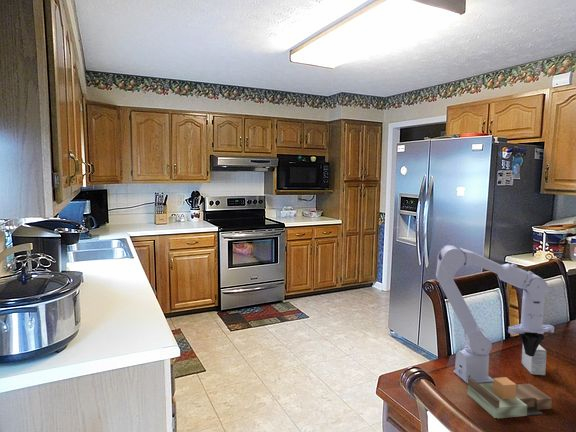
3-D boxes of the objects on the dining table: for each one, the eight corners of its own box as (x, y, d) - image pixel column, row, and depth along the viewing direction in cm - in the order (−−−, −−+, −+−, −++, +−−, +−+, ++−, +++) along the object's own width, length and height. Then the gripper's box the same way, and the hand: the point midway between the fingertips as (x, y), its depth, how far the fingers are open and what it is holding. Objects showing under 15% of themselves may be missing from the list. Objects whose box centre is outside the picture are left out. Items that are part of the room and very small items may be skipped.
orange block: (502, 399, 104) (503, 385, 104) (492, 391, 108) (493, 378, 108) (515, 397, 105) (516, 384, 105) (505, 390, 109) (505, 377, 109)
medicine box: (545, 376, 123) (547, 350, 123) (530, 374, 124) (532, 349, 124) (534, 364, 131) (536, 341, 130) (520, 363, 132) (522, 339, 131)
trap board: (495, 418, 100) (496, 400, 100) (467, 394, 112) (468, 378, 112) (557, 412, 103) (558, 395, 103) (523, 389, 115) (524, 373, 115)
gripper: (521, 318, 112) (518, 362, 113) (563, 316, 114) (560, 359, 115) (504, 310, 119) (502, 352, 120) (544, 308, 121) (541, 349, 122)
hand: (529, 355), depth 118 cm, fingers closed
